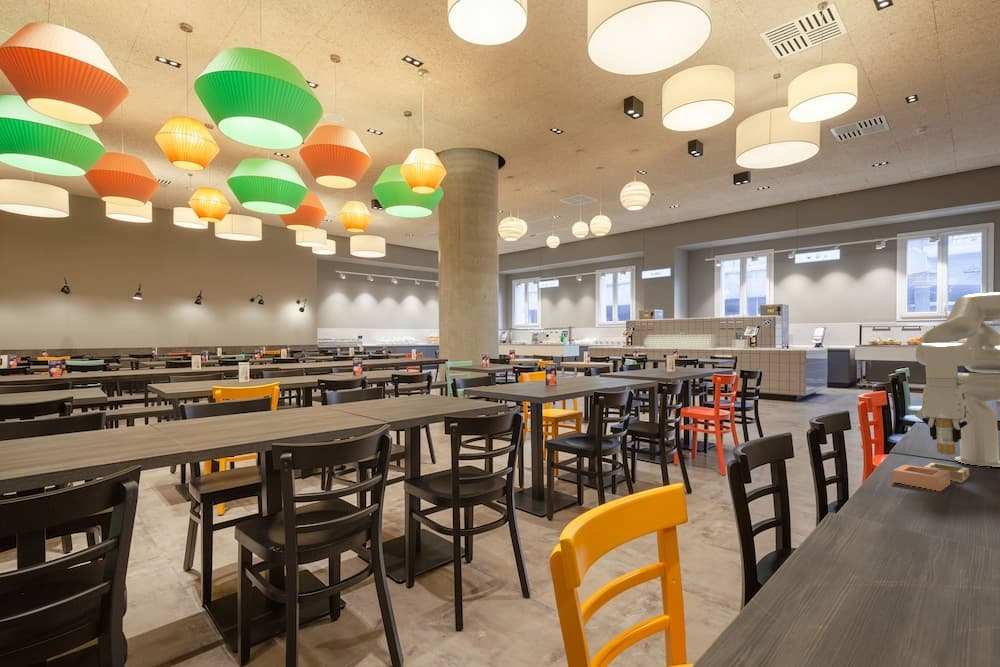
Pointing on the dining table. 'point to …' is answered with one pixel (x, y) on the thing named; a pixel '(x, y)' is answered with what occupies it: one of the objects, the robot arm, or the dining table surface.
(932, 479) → the terracotta socket
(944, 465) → the wooden collar
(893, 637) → the dining table surface
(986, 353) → the robot arm
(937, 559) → the dining table surface
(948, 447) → the sprinkles bottle
